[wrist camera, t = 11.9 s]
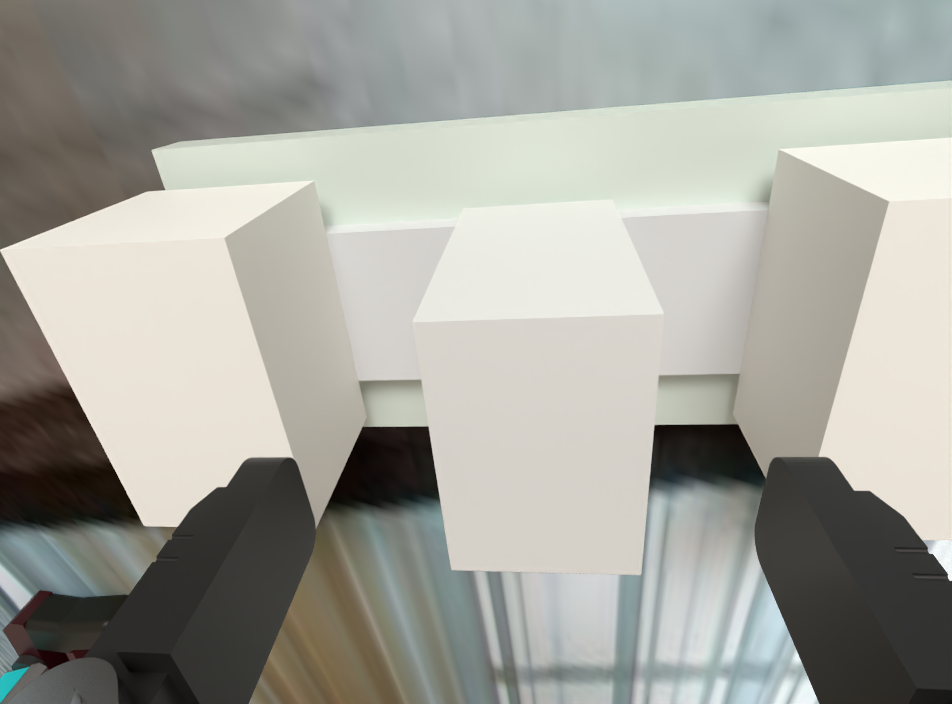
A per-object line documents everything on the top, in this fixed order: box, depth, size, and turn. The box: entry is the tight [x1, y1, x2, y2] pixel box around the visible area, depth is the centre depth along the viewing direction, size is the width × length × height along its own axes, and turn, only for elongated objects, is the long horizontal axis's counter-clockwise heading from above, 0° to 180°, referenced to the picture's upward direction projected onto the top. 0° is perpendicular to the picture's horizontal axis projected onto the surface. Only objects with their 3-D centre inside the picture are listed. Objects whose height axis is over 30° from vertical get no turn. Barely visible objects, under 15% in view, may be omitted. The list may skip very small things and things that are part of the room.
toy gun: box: [0, 590, 128, 704], centre depth 31 cm, size 10×12×5 cm
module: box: [412, 199, 664, 575], centre depth 13 cm, size 4×6×7 cm, turn 4°
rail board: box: [0, 80, 952, 540], centre depth 15 cm, size 22×10×7 cm, turn 94°
